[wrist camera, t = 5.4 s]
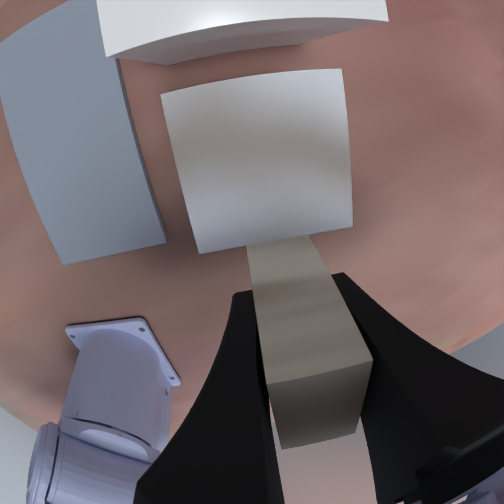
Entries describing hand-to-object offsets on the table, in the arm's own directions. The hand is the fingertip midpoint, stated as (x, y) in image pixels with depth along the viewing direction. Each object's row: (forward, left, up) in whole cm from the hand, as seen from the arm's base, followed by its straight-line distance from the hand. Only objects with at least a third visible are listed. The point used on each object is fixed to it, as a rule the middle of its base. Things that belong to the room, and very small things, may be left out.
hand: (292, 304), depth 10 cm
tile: (+10, 0, -9) cm, 13 cm away
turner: (+2, 0, -3) cm, 4 cm away
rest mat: (+7, +10, -9) cm, 15 cm away
